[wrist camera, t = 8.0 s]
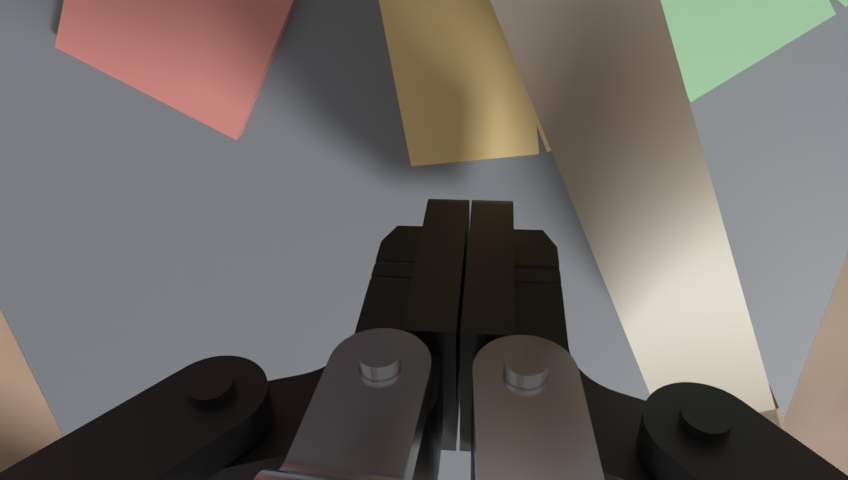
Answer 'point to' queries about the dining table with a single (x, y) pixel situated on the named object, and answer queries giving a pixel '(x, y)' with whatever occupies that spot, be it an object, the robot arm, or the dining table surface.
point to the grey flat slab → (362, 177)
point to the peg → (640, 186)
